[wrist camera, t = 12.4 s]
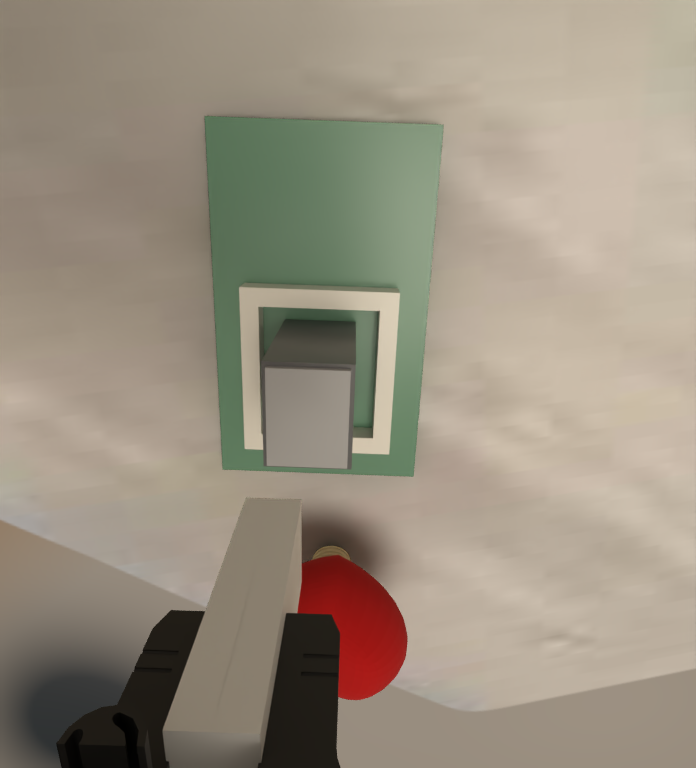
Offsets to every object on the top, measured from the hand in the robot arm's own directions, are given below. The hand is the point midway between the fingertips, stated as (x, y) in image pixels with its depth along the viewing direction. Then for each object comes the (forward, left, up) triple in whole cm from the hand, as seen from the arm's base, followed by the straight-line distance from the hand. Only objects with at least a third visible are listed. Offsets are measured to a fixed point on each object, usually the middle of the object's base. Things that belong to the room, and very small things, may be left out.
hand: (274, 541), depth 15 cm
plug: (0, 0, -17) cm, 17 cm away
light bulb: (+15, +1, -19) cm, 24 cm away
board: (-2, 0, -18) cm, 19 cm away
